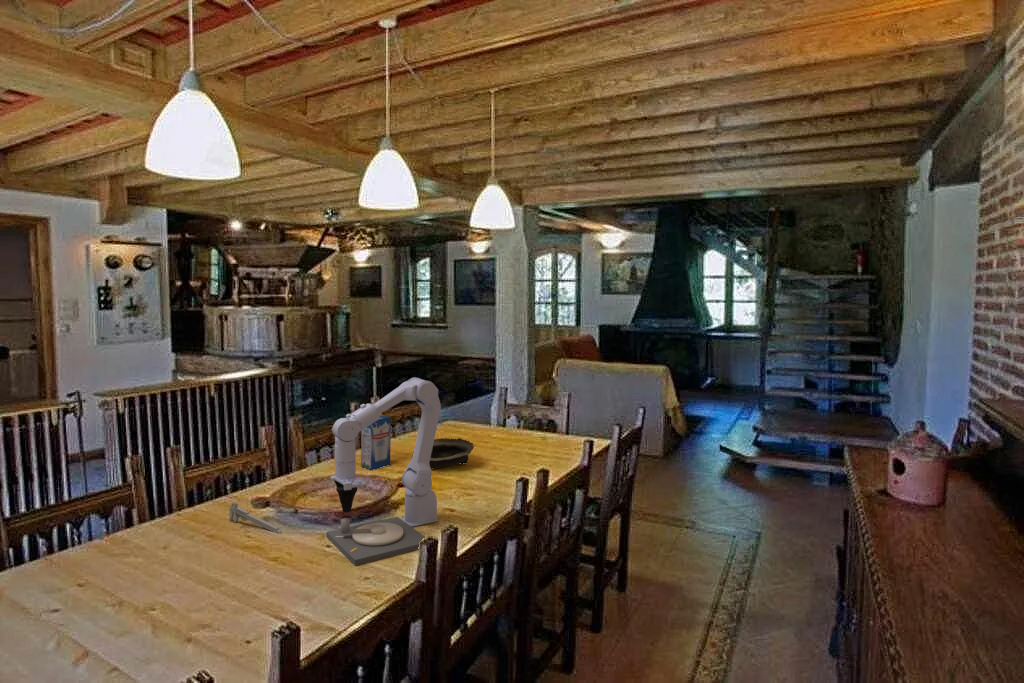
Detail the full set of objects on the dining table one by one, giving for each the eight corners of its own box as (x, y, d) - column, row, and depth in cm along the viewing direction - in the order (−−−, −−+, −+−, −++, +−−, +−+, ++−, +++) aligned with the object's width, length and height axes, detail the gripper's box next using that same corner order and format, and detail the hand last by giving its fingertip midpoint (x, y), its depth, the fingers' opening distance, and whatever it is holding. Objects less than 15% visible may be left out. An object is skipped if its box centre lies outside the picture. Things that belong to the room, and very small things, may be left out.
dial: (405, 525, 177) (405, 509, 176) (401, 545, 163) (401, 528, 163) (345, 526, 175) (345, 510, 175) (336, 546, 161) (336, 529, 161)
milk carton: (371, 470, 237) (371, 420, 236) (361, 467, 241) (361, 418, 239) (390, 465, 245) (390, 416, 243) (380, 462, 249) (380, 414, 247)
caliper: (229, 522, 182) (228, 502, 182) (232, 521, 183) (231, 501, 183) (279, 534, 174) (279, 513, 173) (282, 533, 175) (282, 511, 174)
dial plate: (397, 521, 185) (397, 515, 184) (431, 546, 167) (431, 540, 167) (326, 536, 172) (326, 531, 172) (354, 565, 154) (354, 559, 154)
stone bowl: (478, 457, 258) (478, 437, 257) (468, 479, 233) (468, 456, 232) (421, 454, 260) (421, 433, 259) (406, 475, 236) (406, 453, 234)
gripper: (328, 455, 177) (329, 500, 178) (332, 468, 163) (332, 517, 164) (353, 453, 179) (353, 497, 180) (359, 466, 166) (359, 514, 167)
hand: (345, 507), depth 173 cm, fingers open, 7 cm apart
